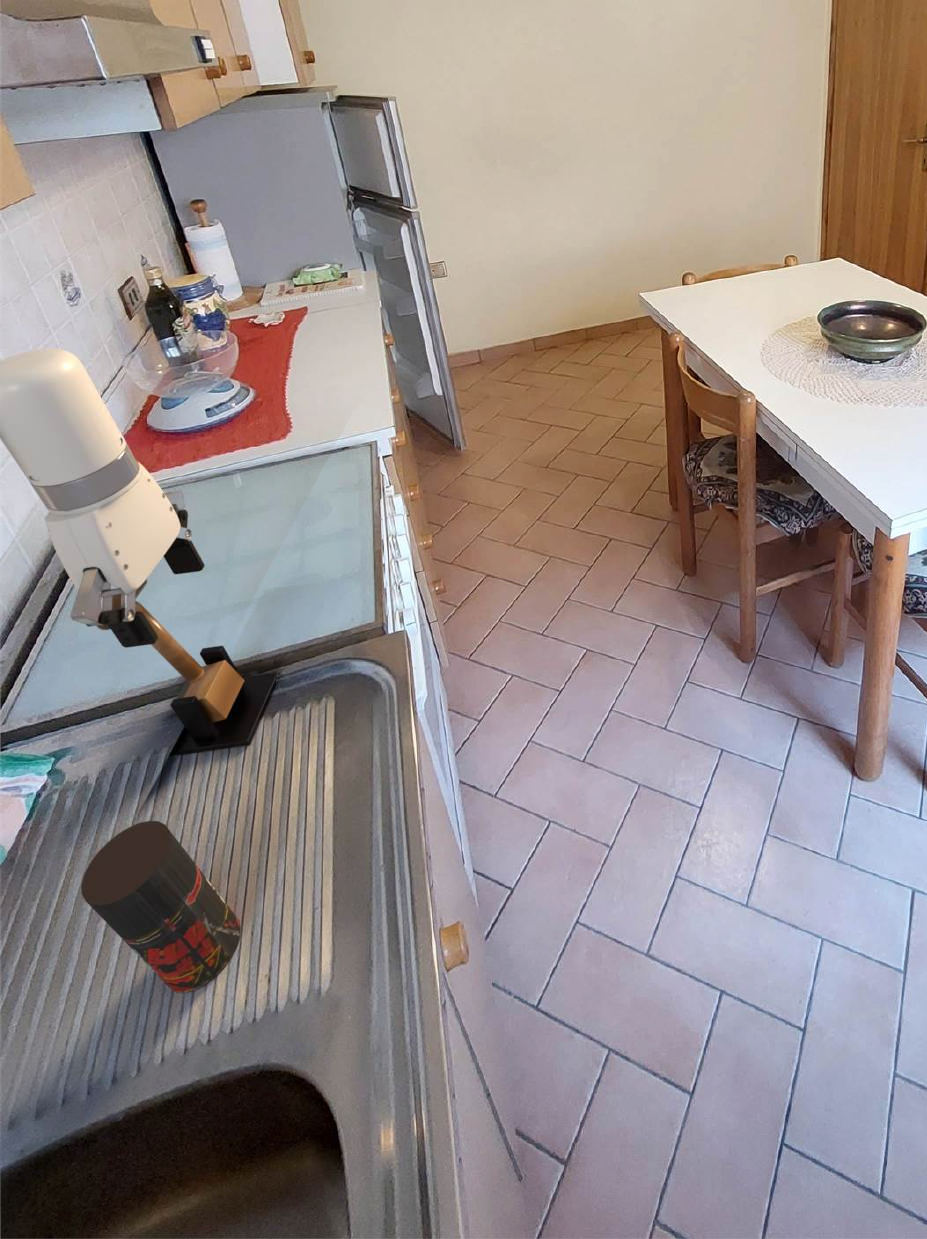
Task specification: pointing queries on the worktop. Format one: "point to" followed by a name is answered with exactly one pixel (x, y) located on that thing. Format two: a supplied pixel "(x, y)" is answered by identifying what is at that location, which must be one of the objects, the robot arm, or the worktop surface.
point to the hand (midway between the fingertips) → (167, 605)
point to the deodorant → (162, 906)
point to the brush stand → (240, 719)
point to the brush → (193, 669)
